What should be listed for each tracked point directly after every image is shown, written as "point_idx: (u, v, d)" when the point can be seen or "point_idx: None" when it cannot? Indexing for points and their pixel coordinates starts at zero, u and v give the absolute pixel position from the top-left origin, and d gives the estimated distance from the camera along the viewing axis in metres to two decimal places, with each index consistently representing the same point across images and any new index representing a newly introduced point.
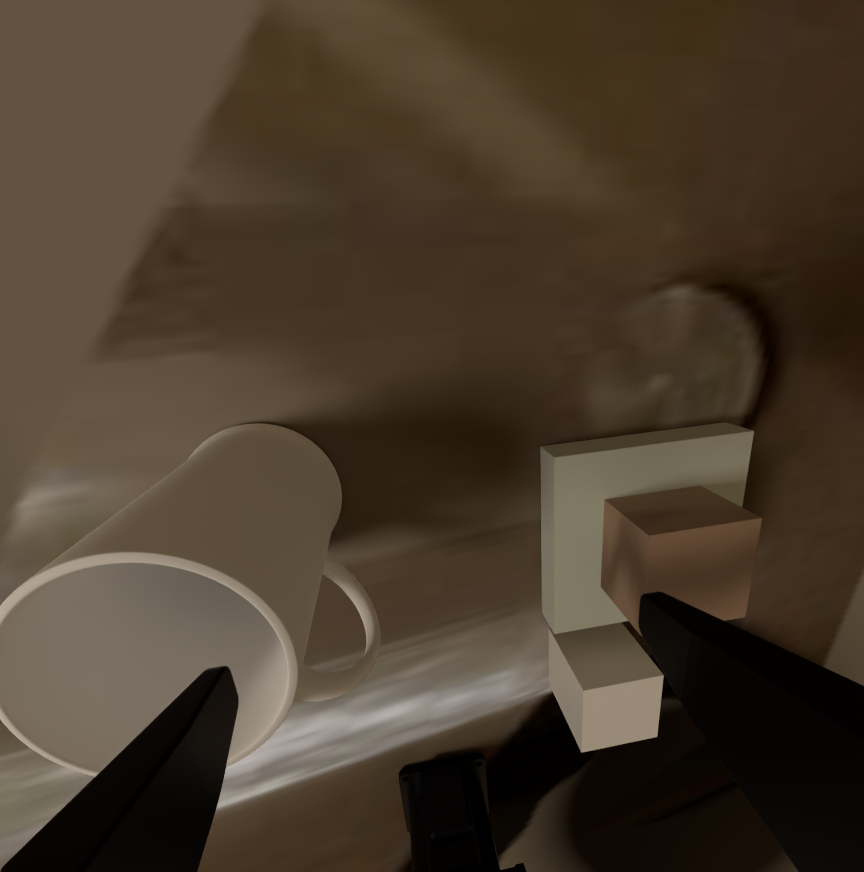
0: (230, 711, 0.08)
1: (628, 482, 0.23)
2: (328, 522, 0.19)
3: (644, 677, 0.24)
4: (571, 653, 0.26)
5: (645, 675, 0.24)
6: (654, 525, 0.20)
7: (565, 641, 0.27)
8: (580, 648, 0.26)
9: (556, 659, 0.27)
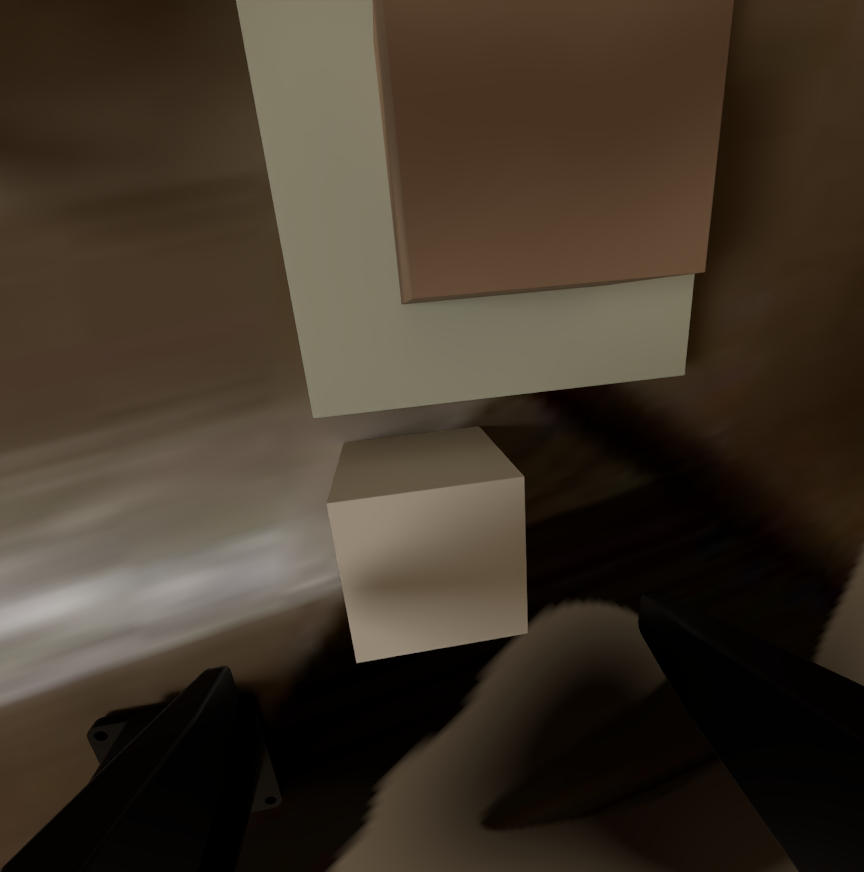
0: (230, 711, 0.08)
1: None
2: None
3: (478, 481, 0.10)
4: (354, 463, 0.12)
5: (483, 479, 0.10)
6: None
7: (358, 452, 0.13)
8: (378, 457, 0.13)
9: None
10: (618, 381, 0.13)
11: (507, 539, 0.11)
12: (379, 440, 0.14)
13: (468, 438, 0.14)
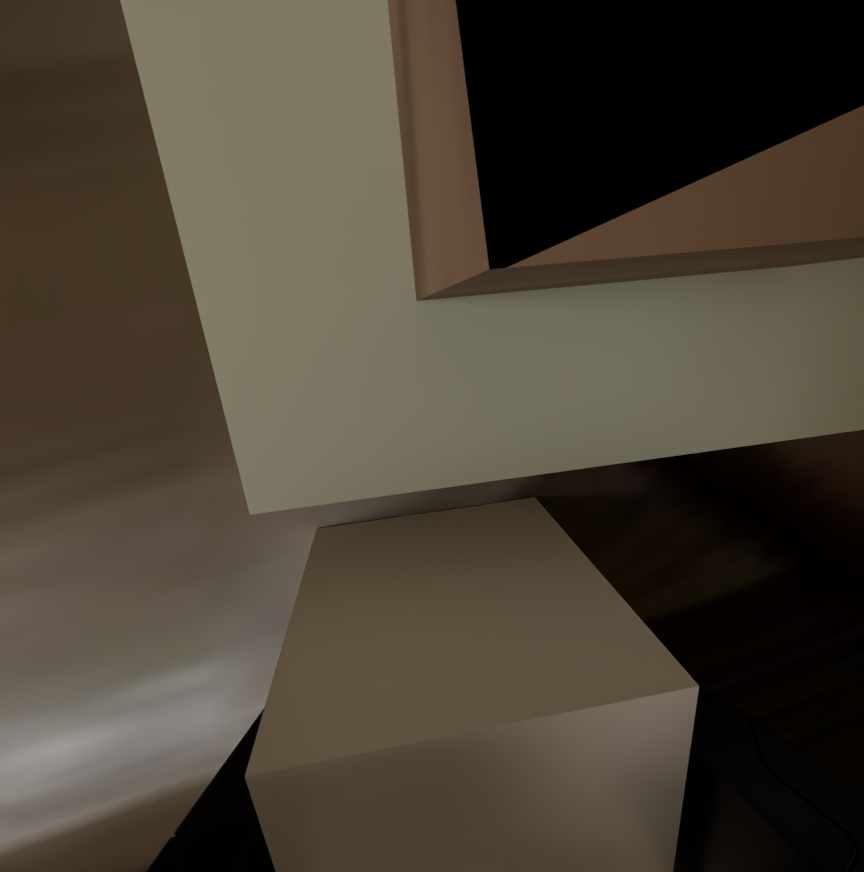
0: None
1: None
2: None
3: (598, 699, 0.04)
4: (327, 597, 0.07)
5: (605, 687, 0.05)
6: None
7: (337, 562, 0.07)
8: (372, 580, 0.07)
9: None
10: (794, 436, 0.07)
11: (646, 801, 0.05)
12: (375, 527, 0.09)
13: (528, 532, 0.08)
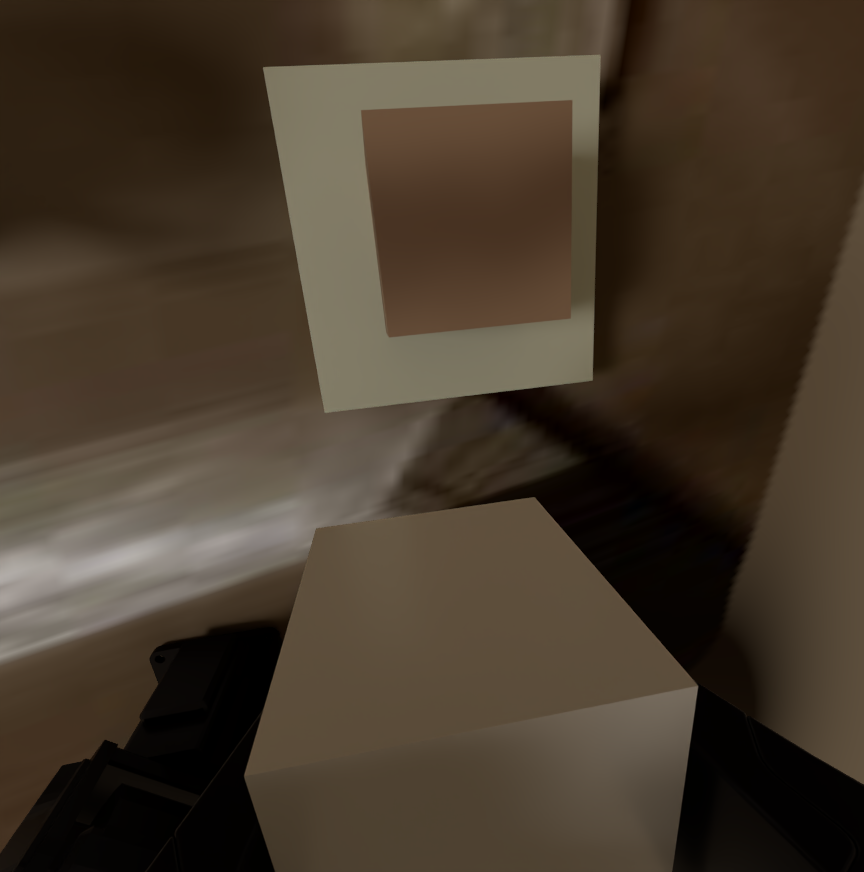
0: None
1: None
2: None
3: (597, 699, 0.04)
4: (327, 597, 0.07)
5: (604, 686, 0.05)
6: None
7: (336, 562, 0.07)
8: (372, 580, 0.07)
9: None
10: (544, 385, 0.18)
11: (646, 800, 0.05)
12: (374, 527, 0.09)
13: (527, 531, 0.08)
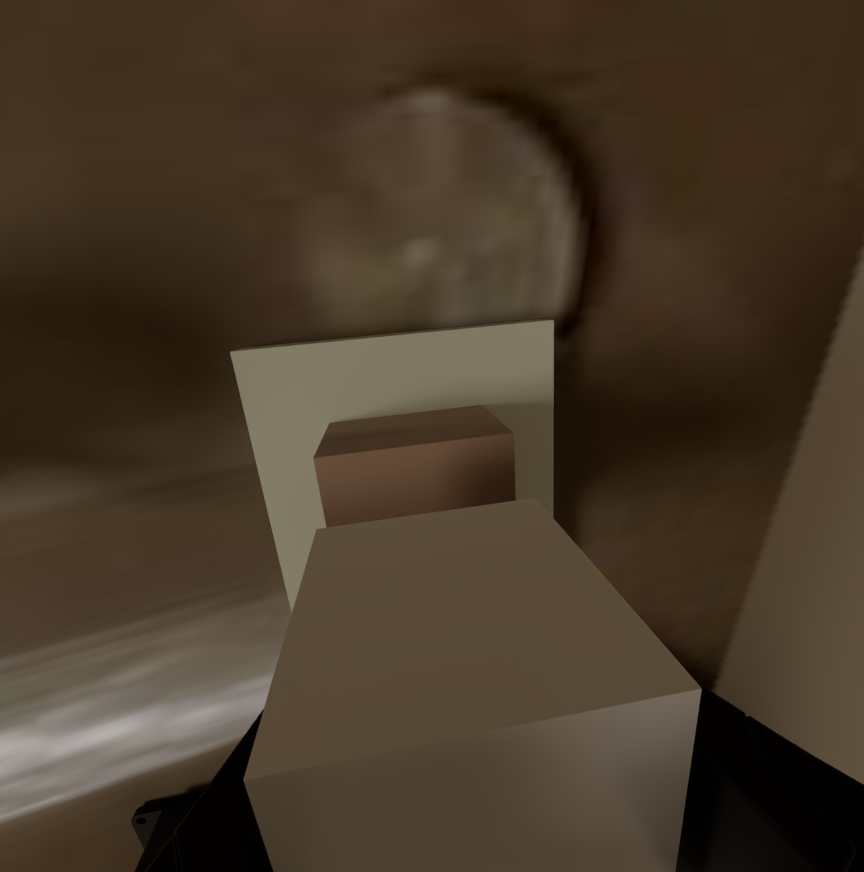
0: None
1: (363, 396, 0.15)
2: None
3: (599, 702, 0.04)
4: (327, 598, 0.07)
5: (607, 689, 0.05)
6: (343, 446, 0.12)
7: (336, 563, 0.07)
8: (373, 581, 0.07)
9: None
10: None
11: (649, 804, 0.05)
12: (375, 528, 0.09)
13: (528, 532, 0.08)
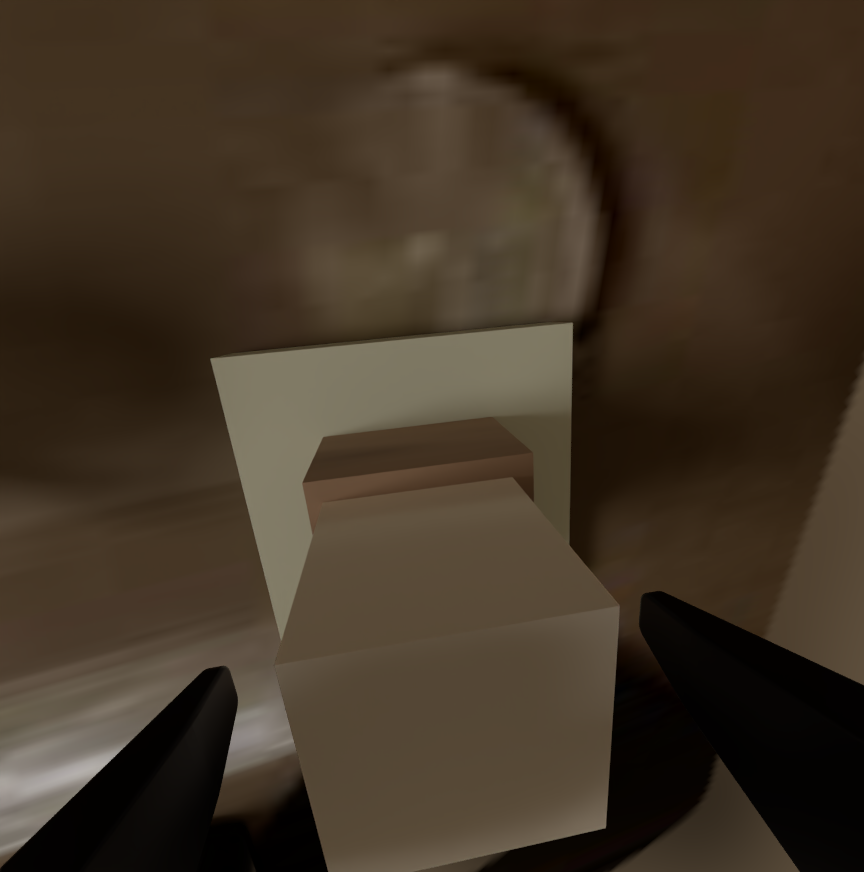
0: (229, 711, 0.08)
1: (361, 407, 0.14)
2: None
3: (542, 615, 0.06)
4: (333, 552, 0.08)
5: (549, 607, 0.06)
6: (337, 467, 0.11)
7: (340, 527, 0.09)
8: (371, 540, 0.08)
9: None
10: None
11: (584, 701, 0.06)
12: (373, 501, 0.10)
13: (503, 503, 0.09)
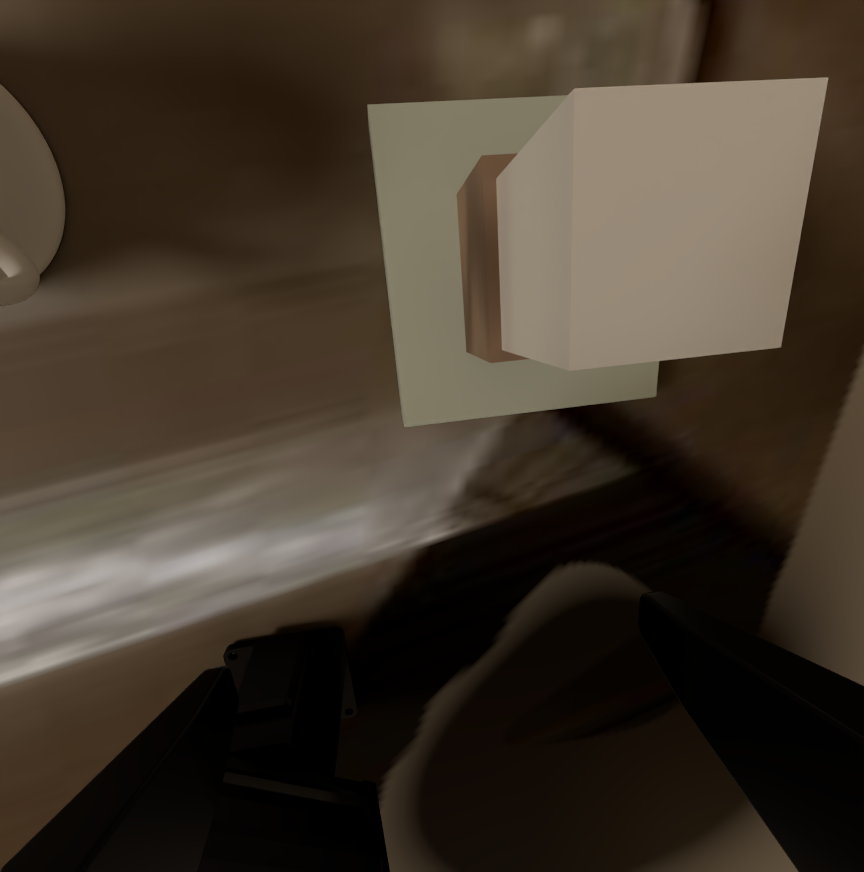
0: (230, 711, 0.08)
1: None
2: None
3: (768, 81, 0.07)
4: None
5: None
6: None
7: None
8: None
9: (511, 224, 0.11)
10: (610, 401, 0.19)
11: (787, 185, 0.08)
12: None
13: None
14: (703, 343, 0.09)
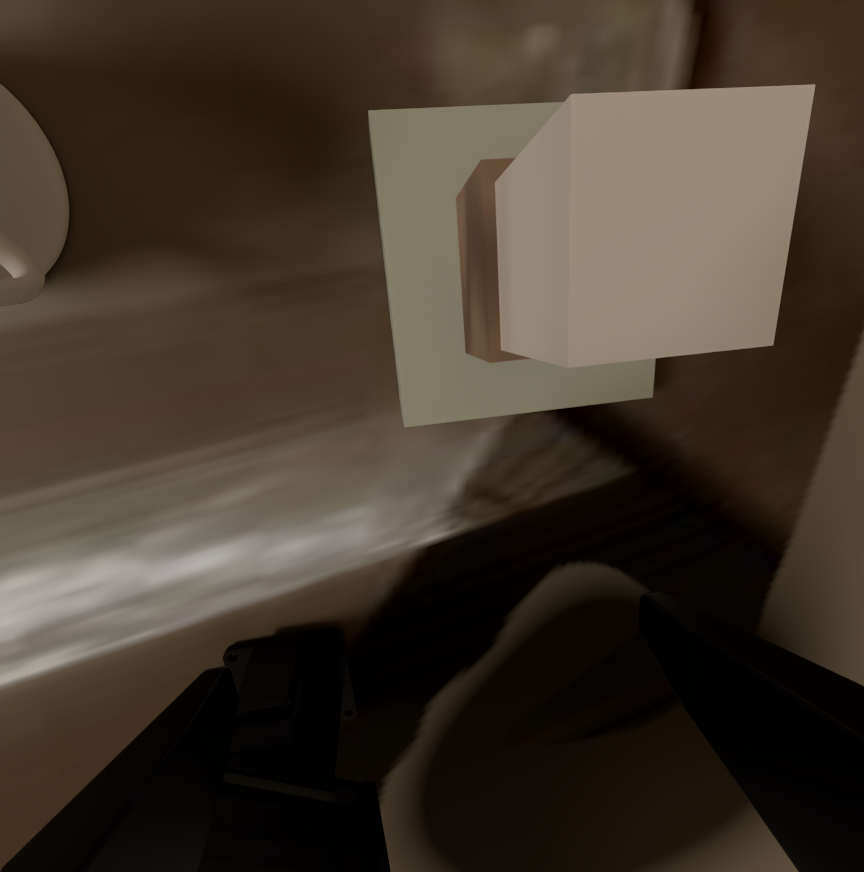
0: (230, 711, 0.08)
1: None
2: None
3: (757, 88, 0.08)
4: None
5: None
6: None
7: None
8: None
9: (510, 226, 0.11)
10: (607, 401, 0.19)
11: (777, 188, 0.08)
12: None
13: None
14: (697, 341, 0.09)
